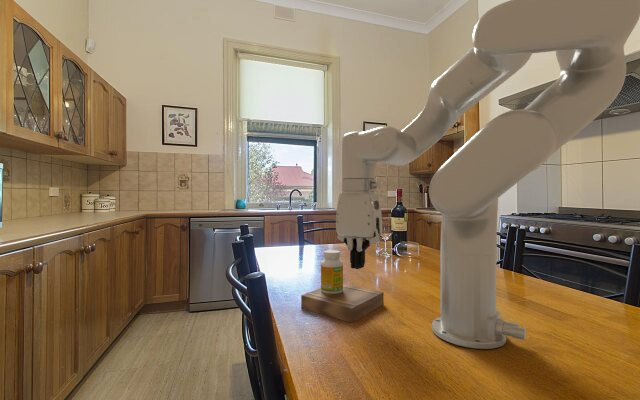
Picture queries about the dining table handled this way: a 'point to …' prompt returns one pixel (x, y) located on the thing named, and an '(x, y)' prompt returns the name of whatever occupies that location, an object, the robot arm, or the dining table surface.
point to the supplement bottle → (331, 272)
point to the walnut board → (343, 302)
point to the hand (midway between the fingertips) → (357, 267)
